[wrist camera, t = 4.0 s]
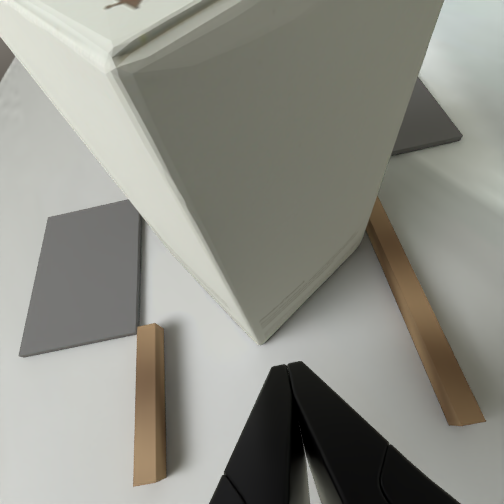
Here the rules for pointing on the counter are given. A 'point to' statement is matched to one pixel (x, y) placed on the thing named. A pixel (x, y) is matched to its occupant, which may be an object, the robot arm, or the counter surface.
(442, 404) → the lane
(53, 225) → the pads
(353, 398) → the counter surface
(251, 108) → the supplement box
